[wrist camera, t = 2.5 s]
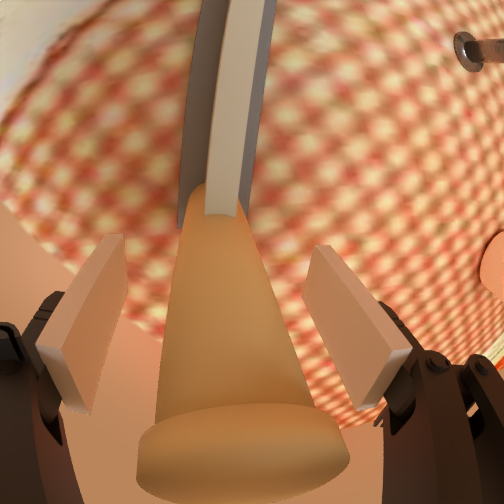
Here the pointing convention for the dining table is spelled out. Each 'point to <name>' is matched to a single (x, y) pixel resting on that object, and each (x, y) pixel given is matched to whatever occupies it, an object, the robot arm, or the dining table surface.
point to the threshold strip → (203, 101)
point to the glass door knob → (477, 51)
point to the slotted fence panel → (231, 337)
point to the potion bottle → (494, 267)
